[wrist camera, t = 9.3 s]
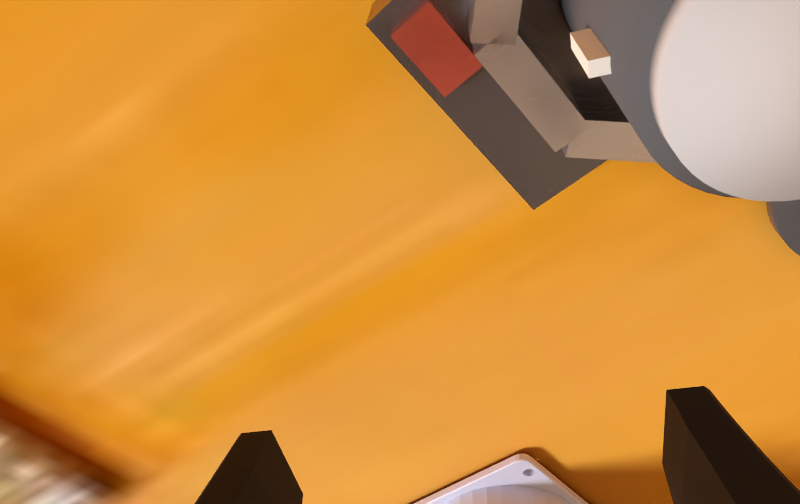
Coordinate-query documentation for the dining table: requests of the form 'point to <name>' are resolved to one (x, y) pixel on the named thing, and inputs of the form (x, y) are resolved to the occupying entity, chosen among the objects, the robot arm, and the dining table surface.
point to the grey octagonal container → (511, 87)
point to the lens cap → (786, 221)
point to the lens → (703, 86)
